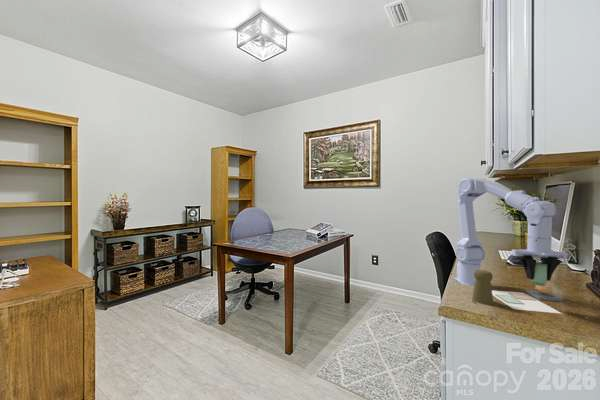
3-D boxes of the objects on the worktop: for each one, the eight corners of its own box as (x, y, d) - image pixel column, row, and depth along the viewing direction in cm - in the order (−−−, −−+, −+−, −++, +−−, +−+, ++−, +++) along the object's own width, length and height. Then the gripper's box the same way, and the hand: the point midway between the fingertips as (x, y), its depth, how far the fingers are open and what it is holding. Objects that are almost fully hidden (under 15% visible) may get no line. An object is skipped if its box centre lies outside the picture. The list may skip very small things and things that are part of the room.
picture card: (484, 291, 98) (484, 289, 98) (523, 294, 95) (523, 292, 95) (513, 310, 80) (513, 308, 80) (562, 315, 77) (562, 313, 77)
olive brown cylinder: (484, 307, 82) (484, 273, 82) (467, 300, 88) (468, 268, 88) (498, 305, 84) (498, 272, 84) (480, 298, 90) (481, 267, 90)
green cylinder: (526, 281, 85) (527, 261, 85) (540, 282, 85) (541, 261, 85) (535, 285, 81) (536, 264, 81) (550, 287, 81) (551, 265, 80)
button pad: (525, 294, 95) (525, 289, 95) (547, 295, 94) (547, 290, 94) (539, 301, 88) (539, 295, 88) (563, 303, 87) (563, 297, 87)
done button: (532, 288, 94) (532, 283, 94) (546, 289, 93) (546, 284, 93) (540, 292, 89) (541, 287, 89) (555, 293, 89) (555, 288, 89)
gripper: (521, 238, 80) (520, 281, 81) (576, 240, 78) (575, 285, 78) (508, 235, 87) (507, 274, 87) (557, 237, 85) (556, 278, 85)
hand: (538, 279), depth 83 cm, fingers closed on green cylinder, 4 cm apart
